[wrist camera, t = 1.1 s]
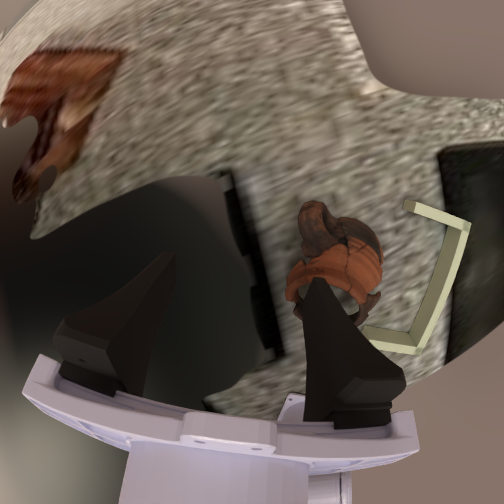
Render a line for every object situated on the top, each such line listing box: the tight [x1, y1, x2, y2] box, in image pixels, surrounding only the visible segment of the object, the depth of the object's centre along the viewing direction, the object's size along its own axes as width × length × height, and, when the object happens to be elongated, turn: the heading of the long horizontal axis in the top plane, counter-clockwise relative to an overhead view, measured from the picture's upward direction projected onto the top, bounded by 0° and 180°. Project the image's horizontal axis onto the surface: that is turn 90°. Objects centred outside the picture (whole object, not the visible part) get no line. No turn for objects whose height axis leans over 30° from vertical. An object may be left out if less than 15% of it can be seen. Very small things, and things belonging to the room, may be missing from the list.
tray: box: [361, 199, 471, 355], centre depth 24 cm, size 15×7×3 cm, turn 169°
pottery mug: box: [285, 201, 383, 327], centre depth 24 cm, size 12×10×8 cm
